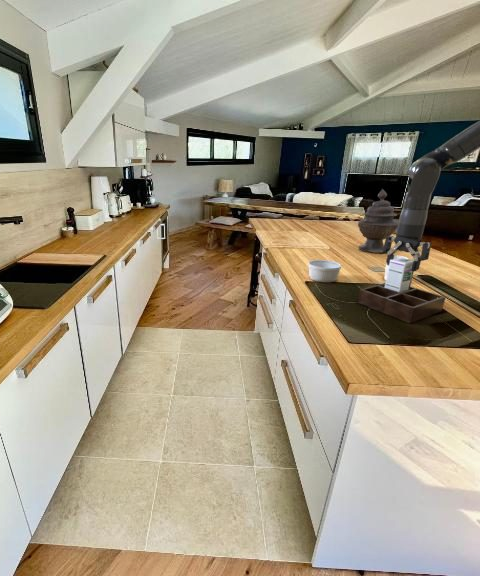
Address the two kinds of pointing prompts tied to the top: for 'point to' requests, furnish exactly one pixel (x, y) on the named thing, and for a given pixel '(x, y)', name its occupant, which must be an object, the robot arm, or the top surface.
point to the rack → (401, 302)
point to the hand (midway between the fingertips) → (401, 267)
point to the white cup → (388, 265)
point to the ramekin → (324, 270)
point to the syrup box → (399, 275)
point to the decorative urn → (377, 224)
